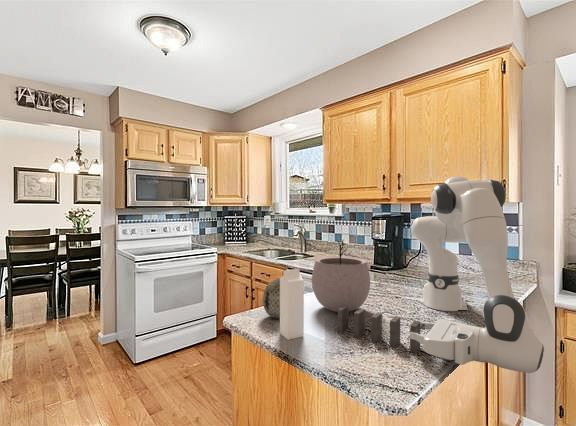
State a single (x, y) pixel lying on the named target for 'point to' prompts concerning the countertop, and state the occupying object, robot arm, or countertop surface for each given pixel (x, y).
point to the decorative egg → (272, 298)
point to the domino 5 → (413, 343)
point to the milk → (292, 304)
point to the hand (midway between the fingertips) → (414, 329)
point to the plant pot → (340, 281)
